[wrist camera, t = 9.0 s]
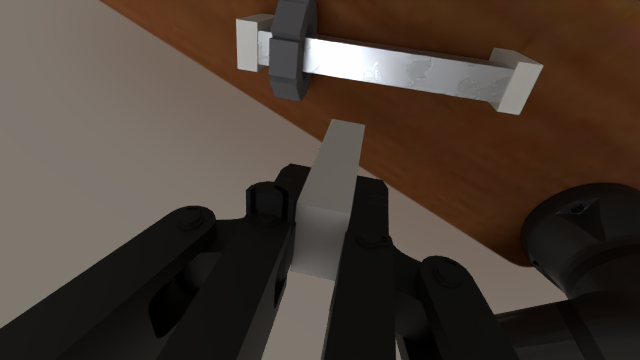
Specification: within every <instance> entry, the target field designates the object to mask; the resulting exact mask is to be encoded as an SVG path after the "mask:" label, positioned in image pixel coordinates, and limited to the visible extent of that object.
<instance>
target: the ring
mask: <svg viewBox="0 0 640 360" xmlns="http://www.w3.org/2000/svg"><path fill="white" fill-rule="evenodd" d="M317 26H318V18H317V4H316V2H315V0H279V1H278V4H277V8H276V12H275V15H274V19H273V22H272V26H271V34H272V37H271V38H269V75H271V77H270V80H269V82H270V84H271V87H272V89H273V92H274V95H275V97H277V98H283V99H289V100H295V101H302V99H303V98H304V96H305V95H306V94H307V89H308V88H309V84H310V80H311V75H312V73H310V72H304V71H302V70H301V66H302V53H303V43H304V39H305V35H306V33H312V34H317V32H318V30H317Z"/></svg>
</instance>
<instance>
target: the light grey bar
mask: <svg viewBox="0 0 640 360" xmlns="http://www.w3.org/2000/svg"><path fill="white" fill-rule="evenodd" d="M271 37H272V34H271V27H267V28H264V29H261V30H258V64H260V65H267V66H269V38H271ZM301 70H302V71H304V72H310V73H316V74H322V75H328V76H334V77H341V78H347V79H353V80H359V81H365V82H371V83H378V84H384V85H390V86H396V87H402V88H408V89H415V90H421V91H427V92H433V93H439V94H445V95H451V96H458V97H464V98H470V99H476V100H482V101H488V102H495V103H500V101H501V99H502V96H503V94H504V92H505V90H506V87H507V85H508V83H509V81H510V78H511V76H512V74H513V72H514V69H513V68H511V67H509V66H508V65H506V64H505V63H503V62H497V61H490V60H484V59H477V58H470V57H464V56H457V55H450V54H444V53H437V52H431V51H424V50H417V49H411V48H404V47H398V46H391V45H384V44H378V43H371V42H364V41H358V40H351V39H345V38H338V37H331V36H325V35H318V34H312V33H306V35H305V39H304V43H303V53H302V66H301Z"/></svg>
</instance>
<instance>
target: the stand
mask: <svg viewBox="0 0 640 360" xmlns="http://www.w3.org/2000/svg"><path fill="white" fill-rule="evenodd" d="M273 19H274V15H270V14H263V13H261V14H257V15H253V16H248V17H244V18H239V19H236V28H237V59H238V69H243V70H249V71H255V72H258V71H259V70H261V69H262V68H264V67H265V66H267V65H260V64H258V30H261V29H264V28H267V27H271V26H272V22H273ZM489 60H490V61H497V62H503V63H505V64H506V65H508V66H509V67H511V68H513V69H514V72H513V74H512V76H511V78H510V81H509V83H508V85H507V87H506V90H505V92H504V94H503V96H502V99H501V101H500V103H495V102H489V103H490V104H491V105H492V106H493V108H494V109H495V110H496V111H498V112H504V113H510V114H516V115H519V114H520V112H521V110H522V108H523V106H524V104H525V102H526V100H527V98H528V96H529V94H530V92H531V90H532V88H533V86H534V84H535V82H536V80H537V78H538V76H539V74H540V72H541V70H542V68H543V66H544V65H542V64H540V63H538V62H536V61H534V60H532V59H530V58H528V57H526V56H524V55H522V54H520V53H518V52H516V51H514V50H507V49H501V48H493V51H492V53H491V56H490V58H489Z"/></svg>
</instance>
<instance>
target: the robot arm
mask: <svg viewBox="0 0 640 360" xmlns="http://www.w3.org/2000/svg"><path fill="white" fill-rule="evenodd" d="M364 129H365V125H363V124H357V123H351V122H346V121H340V120H335V119H332V121H331V123H330V125H329V128H328V130H327V133H326V135H325V137H324V140H323V142H322V144H321V147H320V149H319V152H318V154H317V156H316V159H315V161H314V163H313V166H312V167H306V166H301V165H296V164H289V165H288V166H286V167H284V168H283V169H282V170H281V171H280V173H279V175H278V176H277V178H276V180H275V181H274V182H270V181H266V182H259V183H256V184H254V185H251V186H250V187H249V188H248V189H247V190H246V215H245V217H244V218H241V219H232V220H216V218H215V215H214V213H213V211H211V210H209V209H208V208H206V207H201V206H186V207H182V208H179V209H177V210H175V211H173V212H171V213H169V214H168V215H166V216H165V217H163V218H162V219H161V220H159V221H157V222H156V223H155V224H153V225H152V226H150V227H149V228H147V229H146V230H144V231H143V232H142V233H140V234H138V235H137V236H135V237H134V238H133V239H131V240H130V241H128V242H127V243H125V244H124V245H122V246H121V247H119V248H118V249H116V250H115V251H114V252H112V253H111V254H109V255H108V256H106V257H105V258H103V259H102V260H100V261H99V262H97V263H96V264H94V265H93V266H92V267H90V268H89V269H87V270H86V271H84V272H83V273H81V274H80V275H78V276H77V277H75V278H74V279H72V280H71V281H70V282H68V283H67V284H65V285H64V286H62V287H61V288H59V289H58V290H56V291H55V292H53V293H52V294H50V295H49V296H48V297H46V298H45V299H43V300H42V301H40V302H39V303H37V304H36V305H34V306H33V307H31V308H30V309H29V310H27V311H26V312H24V313H23V314H21V315H20V316H18V317H17V318H15V319H14V320H12V321H11V322H9V323H8V324H7V325H5V326H4V327H2V328H1V329H0V360H261V358H262V355H263V352H264V349H265V346H266V343H267V340H268V337H269V334H270V332H271V329H272V326H273V322H274V320H275V317H276V314H277V311H278V308H279V305H280V302H281V299H282V296H283V293H284V290H285V287H286V281H287V273H288V270H289V267H290V264H291V271H294V272H298V273H303V274H307V275H311V276H316V277H320V278H325V279H329V280H333V281H335V286H334V291H333V295H332V300H331V305H330V310H329V311H330V312H329V317H328V323H327V329H326V335H325V340H324V345H323V351H322V356H321V360H396V342H395V337H396V341H397V344H398V348H399V352H400V356H401V360H640V191H638V190H636V189H634V188H631V187H627V186H623V185H617V184H592V185H586V186H581V187H577V188H573V189H570V190H567V191H565V192H562V193H560V194H558V195H556V196H554V197H552V198H550V199H548V200H547V201H545V202H544V203H542V204H541V205H540V206H539V207H537V208H536V209H535V210H534V211H533V212H532V213H531V214H530V216H529V217H528V218H527V220H526V221H525V223H524V225H523V228H522V231H521V245H522V248H523V250H524V252H525V254H526V255H527V257H528V259H529V261H530V262H531V264H532V265H533V266H534V267H535V268H536V269H537V270H538V271H539V272H541V273H542V274H543V275H544V276H545V277H546V278H547V279H548V280H550V281H551V282H552V283H553V284H554V285H555V286H557V287H558V288H559V289H560V290H561V291H562V292H563V293H565V295H566V296H567V298H568V300H565V301H560V302H554V303H549V304H544V305H539V306H534V307H529V308H525V309H520V310H515V311H510V312H505V313H500V314H495V315H494V314H493V312H492V310H491V309H490V307H489V305H488V303H487V302H486V300H485V298H484V297H483V295H482V293H481V291H480V289H479V288H478V286H477V284H476V283H475V281H474V279H473V277H472V276H471V275H470V273H469V272H468V271H467V270H466V269H465V268H464V267H463V266H461V265H460V264H459V263H458V262H456V261H454V260H452V259H450V258H447V257H443V256H429V257H427V258H425V259H424V260H423V261H422V262H420V261H417V260H415V259H413V258H411V257H409V256H407V255H405V254H404V253H402V252H401V251H399V250H398V249H397V248H396V247H395V246H394V245H393V242H392V238H391V237H390V236H389V227H388V225H389V224H388V223H389V222H388V188H387V186H386V185H385V183H384V182H383V180H379V179H373V178H368V177H363V176H358V175H357V172H358V166H359V160H360V153H361V147H362V141H363V135H364Z"/></svg>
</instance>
